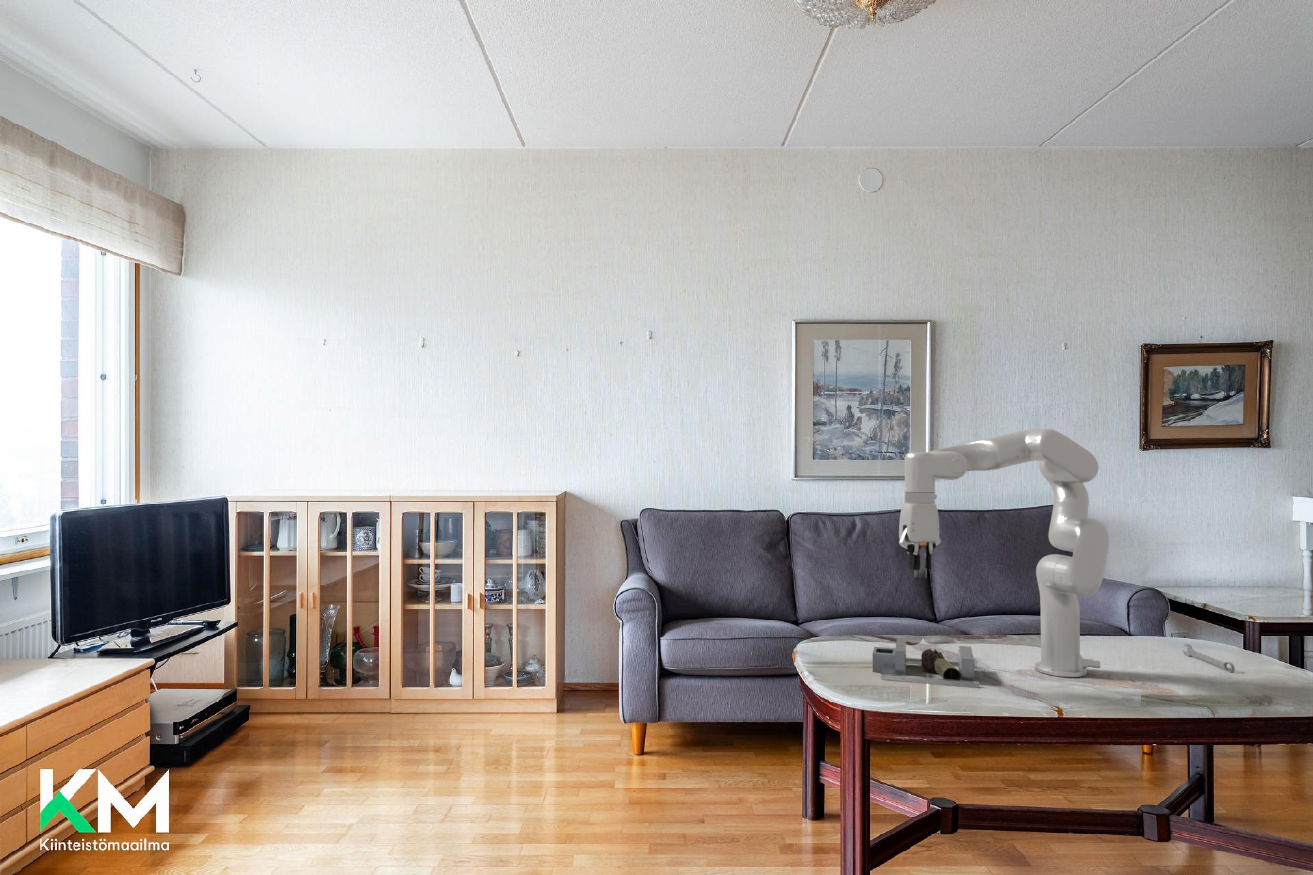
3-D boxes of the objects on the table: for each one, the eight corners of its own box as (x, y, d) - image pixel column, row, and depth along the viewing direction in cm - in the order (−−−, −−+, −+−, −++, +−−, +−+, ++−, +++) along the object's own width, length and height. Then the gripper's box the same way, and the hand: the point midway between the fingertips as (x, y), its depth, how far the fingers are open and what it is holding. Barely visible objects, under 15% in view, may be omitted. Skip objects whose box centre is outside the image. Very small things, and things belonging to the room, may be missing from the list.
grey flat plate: (974, 666, 218) (974, 662, 218) (979, 687, 199) (979, 683, 199) (884, 659, 226) (884, 655, 226) (881, 679, 206) (881, 674, 206)
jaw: (971, 668, 215) (970, 646, 215) (974, 682, 202) (974, 659, 202) (957, 667, 216) (957, 645, 216) (960, 681, 203) (959, 658, 203)
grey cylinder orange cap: (921, 575, 207) (920, 538, 207) (929, 577, 204) (929, 539, 204) (911, 576, 206) (911, 538, 206) (920, 578, 203) (919, 539, 203)
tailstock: (906, 664, 221) (906, 639, 221) (905, 677, 207) (904, 651, 208) (875, 661, 223) (874, 637, 224) (871, 674, 210) (871, 648, 210)
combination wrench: (1235, 661, 212) (1185, 641, 232) (1230, 661, 212) (1181, 641, 232) (1235, 675, 212) (1185, 654, 232) (1230, 675, 212) (1181, 654, 232)
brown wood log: (962, 684, 202) (961, 662, 202) (935, 684, 203) (935, 662, 203) (939, 665, 220) (939, 645, 220) (915, 665, 220) (915, 645, 220)
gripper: (933, 497, 212) (933, 565, 212) (885, 498, 206) (885, 569, 205) (954, 499, 205) (954, 569, 205) (905, 500, 199) (905, 573, 198)
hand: (920, 568), depth 205 cm, fingers closed on grey cylinder orange cap, 3 cm apart
